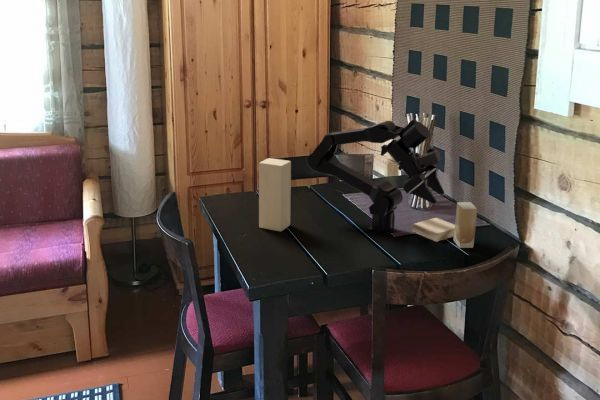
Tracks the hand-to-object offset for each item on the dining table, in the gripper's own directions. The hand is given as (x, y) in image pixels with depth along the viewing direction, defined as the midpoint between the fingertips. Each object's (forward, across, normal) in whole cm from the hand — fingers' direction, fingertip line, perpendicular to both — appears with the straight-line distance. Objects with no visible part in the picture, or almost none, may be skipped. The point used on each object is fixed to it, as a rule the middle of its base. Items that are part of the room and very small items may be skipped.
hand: (439, 198), depth 201 cm
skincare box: (+15, 0, +4) cm, 16 cm away
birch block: (+8, +6, +11) cm, 15 cm away
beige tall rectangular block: (-25, -10, +44) cm, 51 cm away
